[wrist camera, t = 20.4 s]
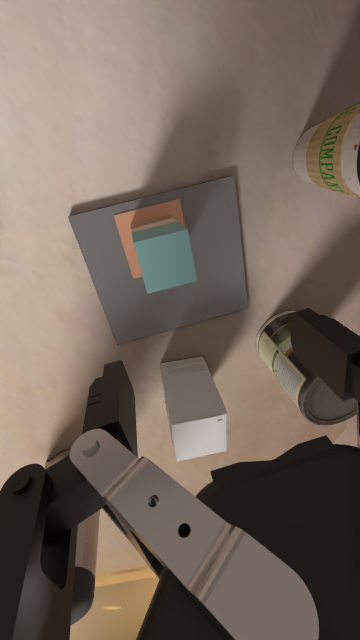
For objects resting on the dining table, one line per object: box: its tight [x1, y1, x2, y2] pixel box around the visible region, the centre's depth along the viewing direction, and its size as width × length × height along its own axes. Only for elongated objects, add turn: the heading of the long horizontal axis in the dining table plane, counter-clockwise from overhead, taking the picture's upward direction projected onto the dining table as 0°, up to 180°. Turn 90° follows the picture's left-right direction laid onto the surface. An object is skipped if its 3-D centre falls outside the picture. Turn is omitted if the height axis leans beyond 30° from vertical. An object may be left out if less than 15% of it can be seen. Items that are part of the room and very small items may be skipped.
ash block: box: [130, 216, 177, 233], centre depth 33 cm, size 5×5×5 cm
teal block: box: [132, 221, 197, 294], centre depth 28 cm, size 5×5×5 cm
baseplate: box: [68, 176, 248, 345], centre depth 37 cm, size 20×18×1 cm
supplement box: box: [160, 356, 227, 461], centre depth 41 cm, size 7×7×13 cm
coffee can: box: [256, 311, 357, 425], centre depth 41 cm, size 10×10×14 cm
